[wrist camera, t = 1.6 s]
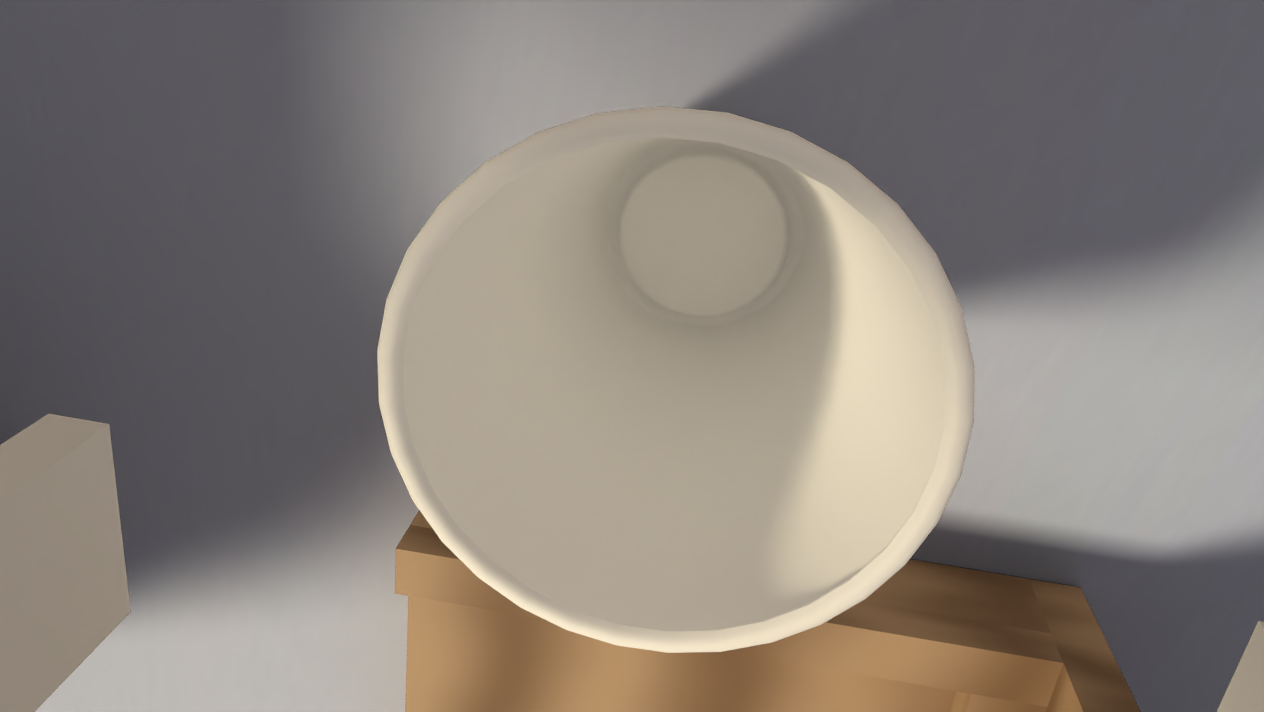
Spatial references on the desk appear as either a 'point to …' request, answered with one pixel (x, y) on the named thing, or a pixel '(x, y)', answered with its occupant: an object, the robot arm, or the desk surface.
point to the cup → (676, 380)
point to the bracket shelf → (765, 651)
